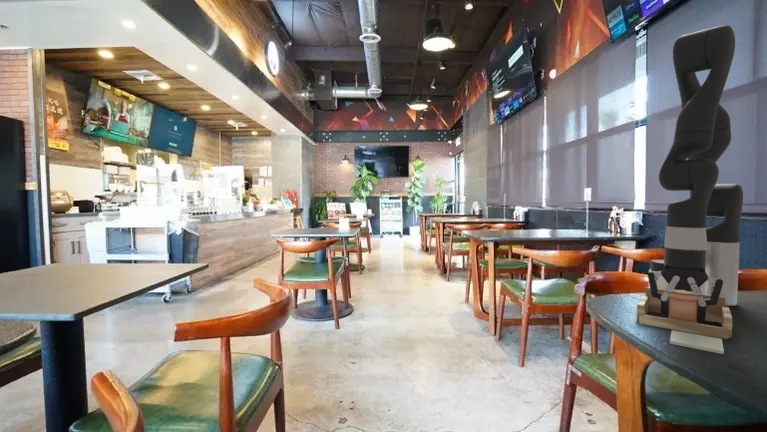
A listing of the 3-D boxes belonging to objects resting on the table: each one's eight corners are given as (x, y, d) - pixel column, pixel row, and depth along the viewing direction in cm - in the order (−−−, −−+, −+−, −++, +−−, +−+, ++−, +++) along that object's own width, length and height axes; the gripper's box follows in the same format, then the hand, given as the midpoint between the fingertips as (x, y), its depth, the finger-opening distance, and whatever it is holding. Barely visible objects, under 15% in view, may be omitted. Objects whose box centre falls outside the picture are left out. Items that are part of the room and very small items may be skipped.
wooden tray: (642, 309, 99) (643, 286, 98) (727, 322, 88) (728, 297, 88) (636, 323, 88) (636, 297, 87) (732, 340, 77) (733, 311, 77)
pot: (666, 317, 92) (667, 288, 92) (699, 322, 88) (700, 293, 88) (664, 323, 87) (665, 293, 87) (699, 329, 83) (700, 298, 83)
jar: (692, 306, 102) (693, 262, 101) (683, 312, 96) (685, 265, 96) (652, 299, 108) (654, 258, 108) (643, 304, 103) (644, 261, 103)
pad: (671, 332, 81) (671, 330, 81) (721, 341, 76) (721, 338, 76) (669, 343, 75) (669, 340, 75) (723, 354, 70) (723, 351, 70)
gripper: (726, 247, 85) (722, 321, 86) (648, 242, 95) (646, 309, 95) (728, 251, 80) (724, 330, 80) (645, 245, 89) (643, 316, 89)
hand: (682, 318), depth 88 cm, fingers closed on pot, 5 cm apart
